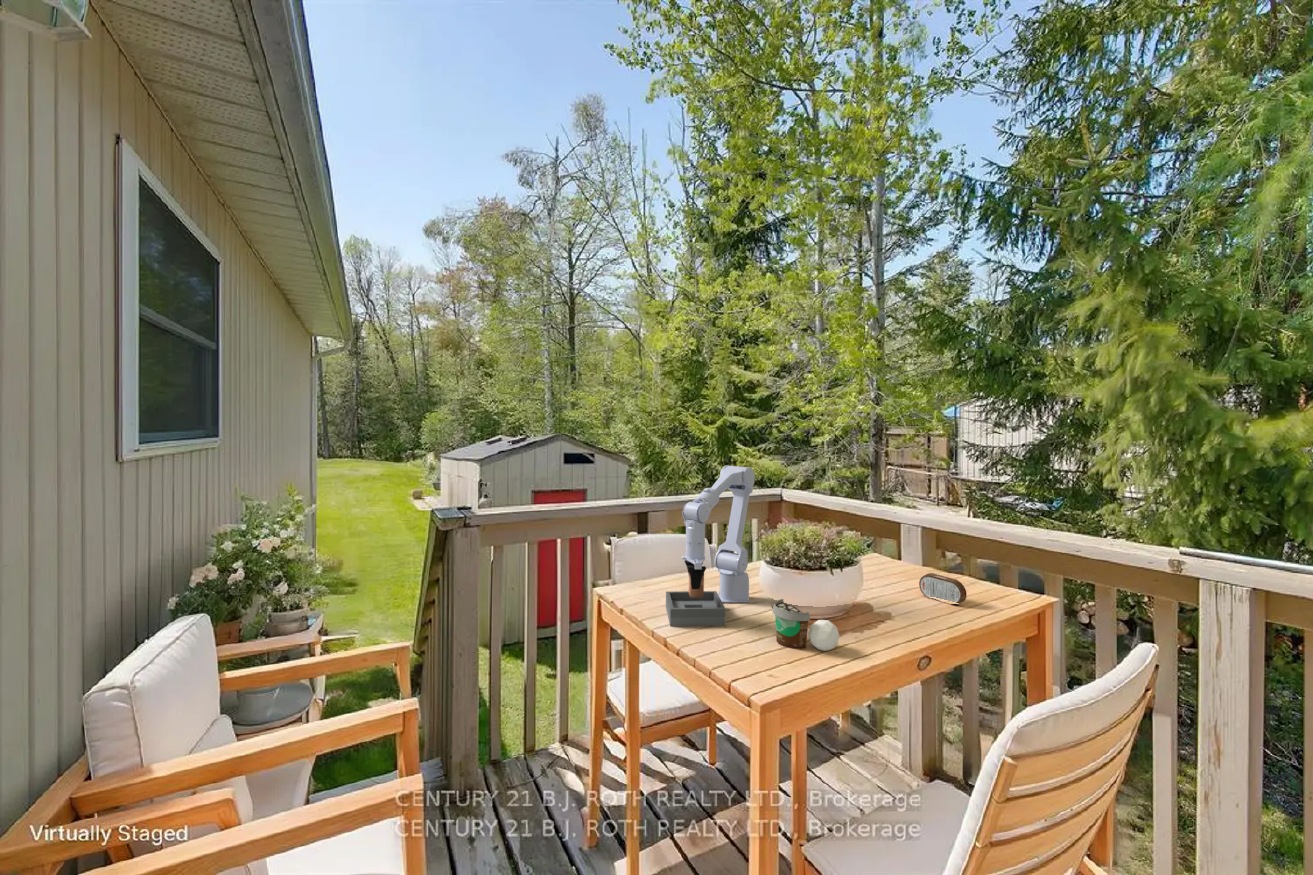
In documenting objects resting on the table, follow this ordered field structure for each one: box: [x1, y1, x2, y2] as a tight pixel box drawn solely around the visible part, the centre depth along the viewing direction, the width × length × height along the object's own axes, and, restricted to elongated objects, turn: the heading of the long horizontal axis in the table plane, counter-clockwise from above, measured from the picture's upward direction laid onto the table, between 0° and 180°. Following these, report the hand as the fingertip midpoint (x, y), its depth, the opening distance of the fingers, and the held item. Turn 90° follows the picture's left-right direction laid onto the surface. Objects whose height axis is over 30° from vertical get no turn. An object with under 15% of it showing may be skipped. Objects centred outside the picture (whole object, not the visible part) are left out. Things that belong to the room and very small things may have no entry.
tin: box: [918, 572, 968, 604], centre depth 190 cm, size 15×3×8 cm, turn 34°
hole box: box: [665, 590, 726, 627], centre depth 174 cm, size 16×16×5 cm
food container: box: [772, 598, 811, 650], centre depth 154 cm, size 12×6×10 cm, turn 23°
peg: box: [688, 573, 705, 597], centre depth 173 cm, size 4×4×8 cm
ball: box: [807, 619, 840, 652], centre depth 151 cm, size 8×8×8 cm
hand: (694, 586), depth 173 cm, fingers closed on peg, 4 cm apart
